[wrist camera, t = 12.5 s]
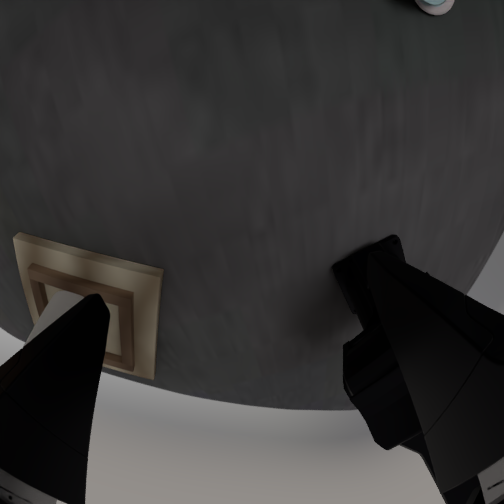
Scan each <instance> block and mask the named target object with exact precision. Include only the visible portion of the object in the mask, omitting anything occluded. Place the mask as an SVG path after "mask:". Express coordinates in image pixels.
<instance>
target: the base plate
mask: <svg viewBox="0 0 504 504" xmlns="http://www.w3.org/2000/svg"><path fill="white" fill-rule="evenodd" d="M13 241H14V247H15V253H16V258H17V263H18V267H19V272H20V276H21V280H22V284H23V288H24V292H25V296H26V300H27V303H28V306H29V310H30V313H31V316H32V319H33V323H34V326H35V325H36V323H37V321H38V319H39V318H40V316H41V314H42V313H43V311H44V309H45V308H46V306H47V304H48V303H49V301H50V300H51V298H52V297H53V295H54V294H55V293H56V292H58V291H63V290H65V291H68V292H72V293H75V294H78V295H81V296H85V297H86V296H87V295H89V294H95V293H98V294H100V295H101V296H102V298H103V300H104V302H105V304H106V305H107V307H108V309H109V311H110V323H109V330H108V336H107V344H106V351H105V356H104V361H103V366H104V367H107V368H110V369H114V370H117V371H120V372H124V373H128V374H131V375H135V376H139V377H143V378H147V379H151V380H154V377H155V373H156V353H157V337H158V323H159V311H160V300H161V290H162V281H163V272H164V269H160V268H156V267H152V266H148V265H143V264H139V263H135V262H131V261H127V260H123V259H119V258H115V257H111V256H107V255H103V254H99V253H95V252H91V251H87V250H83V249H80V248H76V247H72V246H68V245H64V244H61V243H57V242H53V241H50V240H46V239H43V238H39V237H36V236H32V235H28V234H25V233H22V232H19V233H18V234H17V235H15V236H14V237H13Z"/></svg>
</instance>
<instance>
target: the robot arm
mask: <svg viewBox="0 0 504 504" xmlns="http://www.w3.org/2000/svg"><path fill="white" fill-rule="evenodd" d="M394 240H395V242H393V241H394ZM338 268H340V269H339V270H337V269H338ZM332 270H333V272H334V274H335V276H336V279H337V281H338V283H339V285H340V287H341V289H342V292H343V294H344V296H345V298H346V300H347V303H348V305H349V307H350V309H351V311H352V313H353V314H357V316H358V318H359V320H360V323H361V325H362V328H363V330H364V331H362V332H361V333H360V334H359V335H357V336H356V337H355V338H354V339H352V340H351V341H348V342H347V343H345V344H344V345H343V384H344V390H345V391H346V393H347V395H348V397H349V398H350V401H351V402H352V403H353V404H354V405H355V407H356V408H357V409H358V410H359V411H360V413H361V414H362V416H363V418H364V419H365V421H366V423H367V425H368V427H369V430H370V432H371V434H372V436H373V438H374V441H375V442H376V443H377V444H378V445H380V446H381V447H382V448H384V449H385V450H390V449H392V448H394V447H396V446H398V445H400V446H403V447H405V448H407V449H409V450H412V451H414V452H416V453H418V454H420V456H421V457H422V459H423V460H424V462H425V464H426V466H427V468H428V470H429V472H430V473H431V475H432V477H433V479H434V481H435V483H436V485H437V487H438V489H439V491H440V494H441V495H442V497H443V499H444V501H445V503H446V504H504V315H503V314H501V313H498V312H497V311H494V310H493V309H491V308H489V307H487V306H485V305H483V304H481V303H479V302H478V301H476V300H474V299H472V298H471V297H469V296H467V295H465V296H464V294H463V293H462V292H460V291H458V290H456V289H454V288H452V287H451V286H449V285H447V284H445V283H443V282H441V281H440V280H438V279H436V278H434V277H432V276H430V275H429V274H428V273H427V272H426V273H424V272H422V271H421V270H419V269H417V268H415V267H413V266H411V265H409V264H407V263H406V261H405V257H404V253H403V249H402V245H401V241H400V239H399V237H398V236H397V235H392V236H390V237H388V238H386V239H384V240H382V241H380V242H378V243H376V244H374V245H372V246H370V247H368V248H366V249H364V250H362V251H360V252H358V253H356V254H354V255H352V256H350V257H348V258H346V259H344V260H342V261H340V262H338V263H336V264H334V265H333V267H332ZM109 323H110V311H109V309H108V307H107V305H106V304H105V302H104V300H103V298H102V296H101V295H100V294H98V293H95V294H89V295H87V296H86V297H85V298H83V299H82V300H81V301H79V302H78V303H77V304H76V305H74V306H73V307H72V308H70V309H69V310H68V311H67V312H65V313H64V314H63V315H62V316H60V317H59V318H58V319H57V320H55V321H54V322H53V323H52V324H50V325H49V326H48V327H47V328H45V329H44V330H43V331H42V332H41V333H39V334H38V335H37V336H36V337H35V338H33V339H32V340H31V341H30V342H29V343H27V344H26V345H25V346H24V347H23V349H20V351H18V352H17V353H16V354H15V355H13V356H12V357H11V358H10V359H9V360H7V361H6V362H5V363H4V364H3V365H1V366H0V504H56V501H57V500H59V501H62V502H64V503H67V504H85V493H86V475H87V462H88V451H89V442H90V434H91V427H92V419H93V414H94V408H95V402H96V396H97V391H98V385H99V380H100V375H101V370H102V366H103V361H104V356H105V351H106V344H107V336H108V330H109Z"/></svg>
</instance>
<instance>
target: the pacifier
mask: <svg viewBox="0 0 504 504" xmlns="http://www.w3.org/2000/svg"><path fill="white" fill-rule="evenodd" d="M415 1H416V3H417V5H418V6H419V7H420V8H421V9H422V10H424V11H425V12H427V13H429V14H432V15H442V14H444V13H446V12H447V11H449V10H450V9H451V7H452V5H453V3H454V0H415Z"/></svg>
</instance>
